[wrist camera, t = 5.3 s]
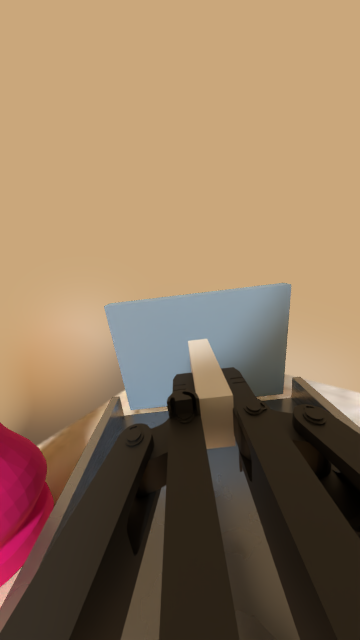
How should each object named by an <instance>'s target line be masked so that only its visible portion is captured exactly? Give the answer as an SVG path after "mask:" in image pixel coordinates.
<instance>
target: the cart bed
mask: <svg viewBox="0 0 360 640" xmlns="http://www.w3.org/2000/svg"><path fill="white" fill-rule="evenodd" d="M263 402H264V403H266V404H267V405H268V406H269V407H270V409H272V410H275V411H279V412H287V413H293V410H294V407H296V406H297V405H301V404H308V405H314V406H317V407H320V408H322V409H323V410H325V411H327V412H329V413H330V414H332V415H333V416H334V417H336V418H337V419H339V420H340V421H342V422H343V423H345V424H346V425H348V426H349V427H351V428H352V429H353V430H355V431H356V432H358V433H359V434H360V428H359V427H358V426H357V425H356V424H355V423H354V422H352V421H351V420H350V419H349V418H348V417H347V416H345V415H344V414H343V413H342V412H341V411H340V410H338V409H337V408H336V407H335V406H334V405H333V404H331V403H330V402H329V401H328V400H327V399H326V398H324V397H323V396H322V395H321V394H320V393H318V392H317V391H316V390H315V389H314V388H313V387H311V386H310V385H309V384H308V383H307V382H306V381H304V380H303V379H302V378H301V377H295V378H293V379H292V397H291V398H286V399H277V400H267V401H263ZM168 418H169V413H168V411H163V412H154V413H145V414H135V415H126V416H124V413H123V409H122V405H121V401H120V397H112V398H111V400H110V402H109V404H108V406H107V408H106V410H105V412H104V414H103V415H102V417H101V419H100V421H99V423H98V425H97V427H96V429H95V431H94V432H93V434H92V436H91V438H90V440H89V442H88V444H87V446H86V448H85V450H84V451H83V453H82V455H81V457H80V459H79V461H78V463H77V465H76V467H75V468H74V470H73V472H72V474H71V476H70V478H69V480H68V482H67V484H66V485H65V487H64V489H63V491H62V493H61V495H60V497H59V499H58V501H57V502H56V504H55V506H54V508H53V510H52V512H51V514H50V516H49V518H48V519H47V521H46V523H45V525H44V527H43V529H42V531H41V533H40V535H39V536H38V538H37V540H36V542H35V544H34V546H33V548H32V550H31V552H30V554H29V555H28V557H27V559H26V561H25V563H24V565H23V567H22V569H21V571H20V572H19V574H18V576H17V578H16V580H15V582H14V584H13V586H12V588H11V589H10V591H9V593H8V595H7V597H6V599H5V601H4V603H3V605H2V606H1V608H0V632H1V630H2V629H3V627H4V625H5V624H6V622H7V620H8V619H9V617H10V615H11V614H12V612H13V610H14V609H15V607H16V606H17V604H18V602H19V601H20V599H21V597H22V596H23V594H24V592H25V591H26V589H27V587H28V586H29V584H30V582H31V581H32V579H33V577H34V576H35V574H36V572H37V571H38V569H39V567H40V566H41V564H42V563H43V561H44V559H45V558H46V556H47V554H48V553H49V551H50V549H51V548H52V546H53V544H54V543H55V541H56V539H57V538H58V536H59V534H60V533H61V531H62V529H63V528H64V526H65V524H66V523H67V521H68V519H69V518H70V516H71V515H72V513H73V511H74V510H75V508H76V506H77V505H78V503H79V501H80V500H81V498H82V496H83V495H84V493H85V491H86V490H87V488H88V486H89V485H90V483H91V481H92V480H93V478H94V476H95V475H96V473H97V471H98V470H99V468H100V467H101V465H102V463H103V462H104V460H105V458H106V457H107V455H108V453H109V452H110V450H111V448H112V447H113V445H114V443H115V442H116V440H117V438H118V437H119V435H120V434H121V433H122V432H123V430H125V429H126V428H127V427H129V426H131V425H133V424H138V423H143V424H146V425H148V426H149V427H150V428H154V427H156V426H159V425H161V424H163V423H164V422H165V421H167V419H168ZM207 454H208V459H209V465H210V471H211V477H212V483H213V488H214V494H215V500H216V506H217V512H218V517H219V523H220V529H221V535H222V540H223V546H224V552H225V558H226V564H227V569H228V575H229V581H230V587H231V593H232V598H233V604H234V610H235V616H236V622H237V627H238V633H239V639H240V640H300V638H299V635H298V632H297V629H296V626H295V623H294V620H293V617H292V614H291V611H290V608H289V605H288V602H287V599H286V596H285V593H284V590H283V587H282V585H281V582H280V579H279V576H278V573H277V570H276V567H275V564H274V561H273V558H272V555H271V552H270V549H269V546H268V543H267V540H266V537H265V534H264V531H263V528H262V525H261V522H260V519H259V516H258V513H257V510H256V507H255V504H254V501H253V498H252V495H251V492H250V489H249V486H248V483H247V480H246V477H245V474H244V471H243V468H242V471H243V472H240V469H239V449H238V445H237V442H236V439H235V446H231V447H221V448H212V449H207ZM165 501H166V486H164V487H162V488H161V492H160V495H159V499H158V503H157V506H156V510H155V514H154V518H153V521H152V525H151V529H150V532H149V536H148V540H147V544H146V547H145V551H144V555H143V558H142V562H141V566H140V570H139V573H138V577H137V581H136V584H135V588H134V592H133V596H132V599H131V603H130V607H129V611H128V614H127V618H126V622H125V625H124V629H123V633H122V637H121V640H159V629H160V607H161V586H162V565H163V544H164V522H165Z"/></svg>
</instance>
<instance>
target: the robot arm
mask: <svg viewBox="0 0 360 640" xmlns="http://www.w3.org/2000/svg"><path fill="white" fill-rule="evenodd" d="M188 347H189V356H190V365H191V373H183V374H176V376H175V377H174V379H173V392H172V394H171V395H170V396H169V397H168V399H167V407H168V413H169V418H168V419H167V421H165V422H164V423H163V424H161V425H159V426H156V427H154V428H150V427H149V426H148V425H146V424H143V423H138V424H133V425H131V426H129V427H127V428H126V429H125V430H123V432H122V433H121V434H120V435H119V437H118V438H117V440H116V442H115V443H114V445H113V447H112V448H111V450H110V452H109V453H108V455H107V457H106V458H105V460H104V462H103V463H102V465H101V467H100V468H99V470H98V471H97V473H96V475H95V476H94V478H93V480H92V481H91V483H90V485H89V486H88V488H87V490H86V491H85V493H84V495H83V496H82V498H81V500H80V501H79V503H78V505H77V506H76V508H75V510H74V511H73V513H72V515H71V516H70V518H69V519H68V521H67V523H66V524H65V526H64V528H63V529H62V531H61V533H60V534H59V536H58V538H57V539H56V541H55V543H54V544H53V546H52V548H51V549H50V551H49V553H48V554H47V556H46V558H45V559H44V561H43V563H42V564H41V566H40V567H39V569H38V571H37V572H36V574H35V576H34V577H33V579H32V581H31V582H30V584H29V586H28V587H27V589H26V591H25V592H24V594H23V596H22V597H21V599H20V601H19V602H18V604H17V606H16V607H15V609H14V610H13V612H12V614H11V615H10V617H9V619H8V620H7V622H6V624H5V625H4V627H3V629H2V630H1V632H0V640H121V637H122V633H123V629H124V625H125V622H126V618H127V614H128V611H129V607H130V603H131V599H132V596H133V592H134V588H135V584H136V581H137V577H138V573H139V570H140V566H141V562H142V558H143V555H144V551H145V547H146V544H147V540H148V536H149V532H150V529H151V525H152V521H153V518H154V514H155V510H156V506H157V503H158V499H159V495H160V492H161V488H162V487H164V486H166V501H165V522H164V544H163V565H162V586H161V607H160V629H159V640H240V639H239V633H238V627H237V622H236V616H235V610H234V604H233V598H232V593H231V587H230V581H229V575H228V569H227V564H226V558H225V552H224V546H223V540H222V535H221V529H220V523H219V517H218V512H217V506H216V500H215V494H214V488H213V483H212V477H211V471H210V465H209V459H208V454H207V449H212V448H221V447H231V446H235V439H236V442H237V445H238V449H239V469H240V472H243V471H244V474H245V477H246V480H247V483H248V486H249V489H250V492H251V495H252V498H253V501H254V504H255V507H256V510H257V513H258V516H259V519H260V522H261V525H262V528H263V531H264V534H265V537H266V540H267V543H268V546H269V549H270V552H271V555H272V558H273V561H274V564H275V567H276V570H277V573H278V576H279V579H280V582H281V585H282V587H283V590H284V593H285V596H286V599H287V602H288V605H289V608H290V611H291V614H292V617H293V620H294V623H295V626H296V629H297V632H298V635H299V638H300V640H360V434H359V433H358V432H356V431H355V430H353V429H352V428H351V427H349V426H348V425H346V424H345V423H343V422H342V421H340V420H339V419H337V418H336V417H334V416H333V415H332V414H330V413H329V412H327V411H325V410H323V409H322V408H320V407H317V406H314V405H308V404H301V405H297V406H296V407H294V410H293V413H287V412H279V411H275V410H272V409H270V407H269V406H268V405H267V404H266V403H264V402H263V401H261V400H259V399H257V398H256V396H255V395H254V393H253V392H252V390H251V388H250V387H249V385H248V384H247V382H246V381H245V379H244V378H243V376H242V374H241V373H240V371H238V370H237V369H235V368H234V367H230V368H222V369H221V368H220V366H219V364H218V361H217V359H216V357H215V355H214V353H213V351H212V348H211V346H210V344H209V342H208V340H207V339H200V340H191V341H188ZM242 468H243V471H242Z"/></svg>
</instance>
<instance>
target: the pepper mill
mask: <svg viewBox="0 0 360 640" xmlns="http://www.w3.org/2000/svg"><path fill="white" fill-rule="evenodd" d="M46 474H47V464H46V460H45V458H44V456H43V454H42V453H41V451H40V449H39V448H38V447H37V446H36V445H35V444H33V443H32V442H31V441H30V440H29V439H27V438H25V437H23V436H21V435H19V434H17V433H15V432H13V431H11V430H9V429H8V428H6V427H5V426H3V425H2V424H1V423H0V587H1V586H2V585H3V584H4V583H6V582H7V581H8V580H9V579H10V578H11V577H12V576H13V575H14V574H15V573H16V572H17V571H18V570H19V569H20V568H21V567H22V566H23V565H24V563H25V561H26V559H27V557H28V555H29V554H30V552H31V550H32V548H33V546H34V544H35V542H36V540H37V538H38V536H39V535H40V533H41V531H42V529H43V527H44V525H45V523H46V521H47V519H48V518H49V516H50V514H51V512H52V510H53V508H54V501H53V497H52V494H51V492H50V490H49V487H48V485H47V483H46V482H45V479H46Z"/></svg>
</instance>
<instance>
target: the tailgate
mask: <svg viewBox="0 0 360 640" xmlns="http://www.w3.org/2000/svg"><path fill="white" fill-rule="evenodd" d="M290 294H291V284H287V283H279V284H270V285H263V286H254V287H246V288H237V289H229V290H220V291H212V292H204V293H195V294H187V295H178V296H170V297H161V298H153V299H144V300H136V301H128V302H119V303H111V304H108V305H106V306H104V308H105V312H106V315H107V319H108V324H109V328H110V331H111V335H112V339H113V343H114V347H115V351H116V355H117V359H118V362H119V366H120V370H121V374H122V378H123V382H124V386H125V390H126V394H127V398H128V402H129V406H130V409H131V410H136V409H145V408H155V407H164V406H167V399H168V397H169V396H170V395H171V394H172V392H173V379H174V377H175V376H176V374H183V373H191V365H190V356H189V347H188V341H191V340H200V339H207V340H208V342H209V344H210V346H211V348H212V351H213V353H214V355H215V357H216V359H217V361H218V364H219V366H220V368H221V369H222V368H230V367H234V368H235V369H237V370H238V371H240V373H241V374H242V376H243V378H244V379H245V381H246V382H247V384H248V385H249V387H250V388H251V390H252V392H253V393H254V395H255V396H256V397H258V396H267V395H277V394H283V385H284V372H285V359H286V347H287V333H288V320H289V308H290Z"/></svg>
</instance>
